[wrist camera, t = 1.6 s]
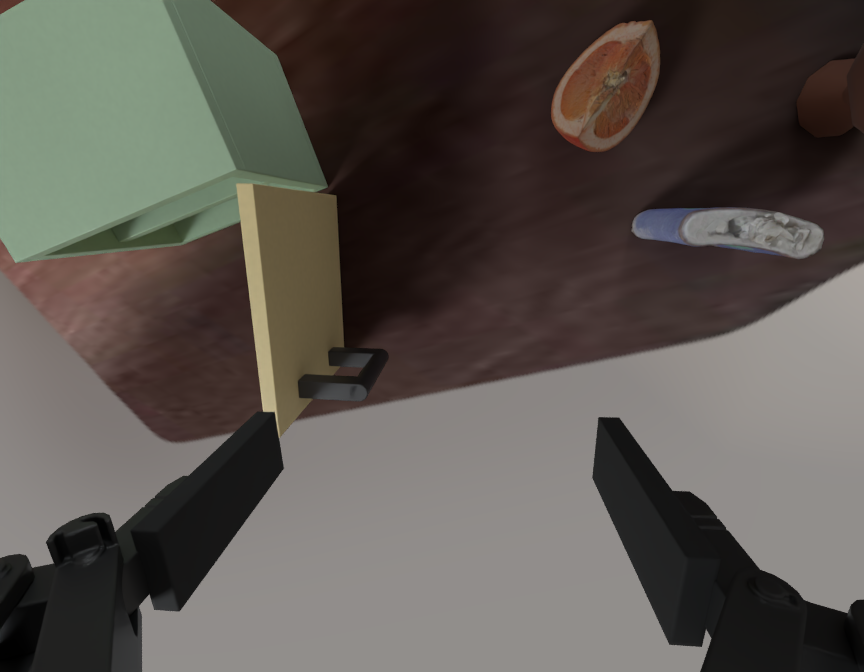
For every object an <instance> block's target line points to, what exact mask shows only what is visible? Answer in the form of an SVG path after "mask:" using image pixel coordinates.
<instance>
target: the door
mask: <svg viewBox="0 0 864 672" xmlns="http://www.w3.org/2000/svg"><path fill="white" fill-rule="evenodd" d="M236 187H237V195H238V204H239V212H240V220H241V229H242V237H243V246H244V254H245V263H246V271H247V279H248V288H249V296H250V305H251V313H252V321H253V330H254V338H255V347H256V355H257V363H258V372H259V380H260V389H261V397H262V405H263V412H275V417H276V423H277V429H278V435H279V437H281V436H282V434H283V433H284V432H285V431H286V430H287V429H288V427H289V426H290V425H291V424H292V423H293V422H294V420H295V419H296V418H297V417H298V416H299V415H300V413H301V412H302V411H303V410H304V409H305V408H306V406H307V405H308V404H309V403H310V402H311V400H312V399H326V400H345V401H363V400H365V399H366V397H367V396H368V394H369V392H370V390H371V389H372V387H373V385H374V383H375V382H376V380H377V378H378V376H379V374H380V373H381V371H382V369H383V367H384V366H385V364H386V362H387V360H388V357H389V356H388V353H387V352H386V351H385V350H383V349H369V348H346V347H344V335H343V316H342V296H341V276H340V257H339V237H338V218H337V198H336V195H329V194H322V193H315V192H308V191H301V190H295V189H288V188H281V187H274V186H267V185H260V184H253V183H237V184H236ZM340 366H341V367H362V368H363V369H362V371H361V372H360V374H359V375H358V377H355V376H335V375H334V373H335V372H336V371H337V370H338V369H339V368H340Z"/></svg>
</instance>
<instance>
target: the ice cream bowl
mask: <svg viewBox="0 0 864 672" xmlns="http://www.w3.org/2000/svg"><path fill="white" fill-rule="evenodd" d="M796 104H797V111H798V118H799V125H800V126H801V127H803V128H804V129H805V130H807V131H808V132H809V133H811V134H812V135H813V136H815V137H816V138H817V137H830V136H840V135H842V134H844V133H845V132H847V131H848V130H850V129H851V128H853V127H854V126H855V127H856V128H857V129H859V130H860V131H861V132H863V133H864V42H863V44H862V46H861V48H860V50H859V52H858V54H857V56H856V58H854V59H844V60H833V61H830V62H828V63H827V64H826V65H824V66H823V67H822V68H820V69H819V70H818V71H816V72H815V73H814V74H812V75H811V76H810V77H808V79H807V81H806V83H805V85H804V87H803V89H802V91H801V94H800V96H799V98H798V100H797V102H796Z"/></svg>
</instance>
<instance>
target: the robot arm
mask: <svg viewBox="0 0 864 672" xmlns="http://www.w3.org/2000/svg"><path fill="white" fill-rule="evenodd" d="M283 469H284V467H283V461H282V455H281V448H280V442H279V435H278V429H277V423H276V417H275V412H256V413H255V414H254V415H253V416H252V417H251V418H250V419H249V420H248V421H247V422H246V423H245V424H244V425H242V426H241V427H240V428H239V429H238V430H237V431H236V432H235V433H234V434H233V435H232V436H231V437H230V438H229V439H227V441H225V442H224V443H223V444H222V445H221V446H220V447H219V448H218V449H217V450H216V451H215V452H214V453H213V454H211V455H210V456H209V457H208V458H207V459H206V460H205V461H204V462H203V463H202V464H201V465H200V466H199V467H198V468H196V469H195V470H194V471H193V472H192V473H191V474H190V475H189V476H182V477H181V478H179V479H177V480H175V481H174V482H172V483H170V484H168V485H167V486H166V487H165V488H164V489H162V490H161V491H160V492H159V493H158V494H157V495H156V496H155V498H153V499H151V500H150V501H149V502H148V503H147V504H146V505H145V507H142V508H141V509H140V510H139V511H138V512H137V513H136V514H135V515H134V516H132V517H131V518H130V519H129V520H128V521H127V522H126V523H125V524H124V525H122V526H121V527H120V528H119V529H118V530H117V531H116V532H115V530H114V527H113V524H112V521H111V518H110V515H108V514H105V513H93V514H89V515H85V516H81V517H79V518H77V519H74V520H72V521H70V522H68V523H66V524H65V525H63V526H61V527H60V528H58V529H57V530H56V531H55V532H54V533H53V534H51V535H50V537H49V538H48V540H47V541H46V544H47V546H48V549H49V551H50V554H51V557H52V559H53V562H54V564H50V565H44V566H40V567H34V568H32V567H31V564H30V562H29V559H28V558H27V556H26V555H21V554H16V555H9V556H5V557H2V558H0V672H142V615H141V612H140V609H139V605H140V604H141V603H142V602H143V601H144V599H145V598H146V597H147V596H148V595H149V594H150V597H151V600H152V604H153V607H154V610H165V611H180V610H181V609H182V607H183V606H184V605H185V603H186V602H187V600H188V599H189V598H190V596H191V595H192V594H193V592H194V591H195V590H196V588H197V587H198V585H199V584H200V582H201V581H202V580H203V579H204V577H205V576H206V575H207V573H208V572H209V570H210V569H211V568H212V566H213V565H214V563H215V562H216V561H217V559H218V558H219V557H220V555H221V554H222V552H223V551H224V550H225V548H226V547H227V546H228V544H229V543H230V542H231V540H232V539H233V537H234V536H235V535H236V533H237V532H238V531H239V529H240V528H241V526H242V525H243V524H244V522H245V521H246V519H247V518H248V517H249V515H250V514H251V513H252V511H253V510H254V509H255V507H256V506H257V504H258V503H259V502H260V500H261V499H262V498H263V496H264V495H265V494H266V492H267V491H268V489H269V488H270V487H271V485H272V484H273V482H274V481H275V480H276V478H277V477H278V476H279V474H280V473H281V471H282V470H283ZM593 480H594V482H595V485H596V487H597V489H598V491H599V493H600V495H601V497H602V500H603V502H604V504H605V506H606V508H607V511H608V513H609V514H610V517H611V519H612V521H613V524H614V525H615V528H616V530H617V532H618V534H619V536H620V538H621V541H622V543H623V545H624V547H625V549H626V551H627V554H628V556H629V558H630V560H631V562H632V564H633V567H634V569H635V571H636V573H637V575H638V578H639V580H640V582H641V584H642V586H643V588H644V591H645V593H646V595H647V597H648V599H649V601H650V603H651V606H652V608H653V610H654V612H655V614H656V617H657V619H658V621H659V623H660V625H661V627H662V630H663V632H664V634H665V636H666V638H667V640H668V642H669V644H670V645H683V646H698V647H702V644H703V639H704V635H705V631H706V629H707V631H708V633H709V635H710V637H711V638H712V639H711V642H710V645H709V648H708V651H707V654H706V657H705V660H704V663H703V665H702V669H701V671H700V672H864V600H856V601H855V602H854V603H853V604H851V606H850V609H849V612H848V613H845V612H841V611H838V610H834V609H831V608H827V607H824V606H820V605H817V604H813V603H810V602H808V601H805V600H803V598H802V597H801V596H800V594H799V593H798V592H797V591H796V590H795V589H794V588H793V587H791V586H790V585H789V584H788V583H787V582H785V581H783V580H782V579H780V578H778V577H776V576H775V575H773V574H770V573H767V572H765V571H762V570H760V569H759V568H758V567H757V566H756V564H755V563H754V562H753V560H752V559H751V558H750V557H749V556H748V554H747V553H746V552H745V551H744V549H743V548H742V547H741V546H740V545H739V543H738V542H737V541H736V540H735V538H734V537H733V536H732V535H731V533H730V532H729V531H727V530H726V527H725V526H724V525H723V523H722V522H721V521H720V520H719V519H717V516H716V515H715V514H714V512H713V511H712V510H711V509H710V508H709V506H708V505H707V504H706V503H705V502H704V501H702V500H701V499H699V498H698V497H697V496H695V495H694V494H692V493H691V492H686V491H685V492H684V491H683V492H682V491H672V490H671V488H670V487H669V485H668V484H667V483H666V481H665V480H664V479H663V478H662V476H661V475H660V473H659V472H658V471H657V469H656V468H655V466H654V465H653V464H652V462H651V461H650V459H649V458H648V457H647V455H646V454H645V453H644V451H643V450H642V448H641V447H640V446H639V444H638V443H637V442H636V440H635V439H634V437H633V436H632V435H631V433H630V432H629V431H628V429H627V428H626V426H625V425H624V424H623V423H622V421H621V420H620V418H607V417H606V418H605V417H599V418H598V428H597V438H596V449H595V458H594V467H593Z"/></svg>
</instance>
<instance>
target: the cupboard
mask: <svg viewBox="0 0 864 672" xmlns="http://www.w3.org/2000/svg"><path fill="white" fill-rule="evenodd" d="M237 183H253V184H260V185H267V186H274V187H281V188H288V189H295V190H301V191H308V192H317V191H320V190H322V189H325V188H327V187H328V185H327V183H326V180H325V178H324V175H323V172H322V170H321V167H320V165H319V162H318V160H317V157H316V154H315V152H314V149H313V147H312V144H311V142H310V139H309V136H308V134H307V131H306V129H305V126H304V124H303V121H302V118H301V116H300V113H299V111H298V108H297V106H296V103H295V100H294V98H293V95H292V93H291V90H290V87H289V85H288V82H287V80H286V77H285V75H284V72H283V69H282V67H281V64H280V62H279V59H278V57H277V55H276V54H275V53H273V52H272V51H271V50H269V49H268V48H267V47H266V46H265V45H263V44H262V43H261V42H260V41H259V40H257V39H256V38H255V37H254V36H253V35H251V34H250V33H249V32H248V31H247V30H245V29H244V28H243V27H242V26H240V25H239V24H238V23H237V22H236V21H234V20H233V19H232V18H231V17H230V16H228V15H227V14H226V13H225V12H224V11H222V10H221V9H220V8H219V7H217V6H216V5H215V4H214V3H213V2H211V1H210V0H25V1H23V2H21V3H20V4H18V5H16V6H14V7H13V8H11V9H9V10H7V11H6V12H4V13H2V14H0V238H1V240H2V241H3V243H4V245H5V246H6V248H7V249H8V251H9V253H10V254H11V256H12V258H13V259H14V261H15V262H16V263H18V262H28V261H37V260H46V259H55V258H65V257H74V256H84V255H93V254H103V253H112V252H122V251H131V250H141V249H150V248H159V247H169V246H178V245H183V244H186V243H188V242H191V241H193V240H196V239H198V238H201V237H203V236H206V235H208V234H211V233H214V232H216V231H219V230H221V229H224V228H226V227H229V226H231V225H234V224H236V223H239V222H241V220H240V212H239V204H238V195H237V187H236V184H237Z"/></svg>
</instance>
